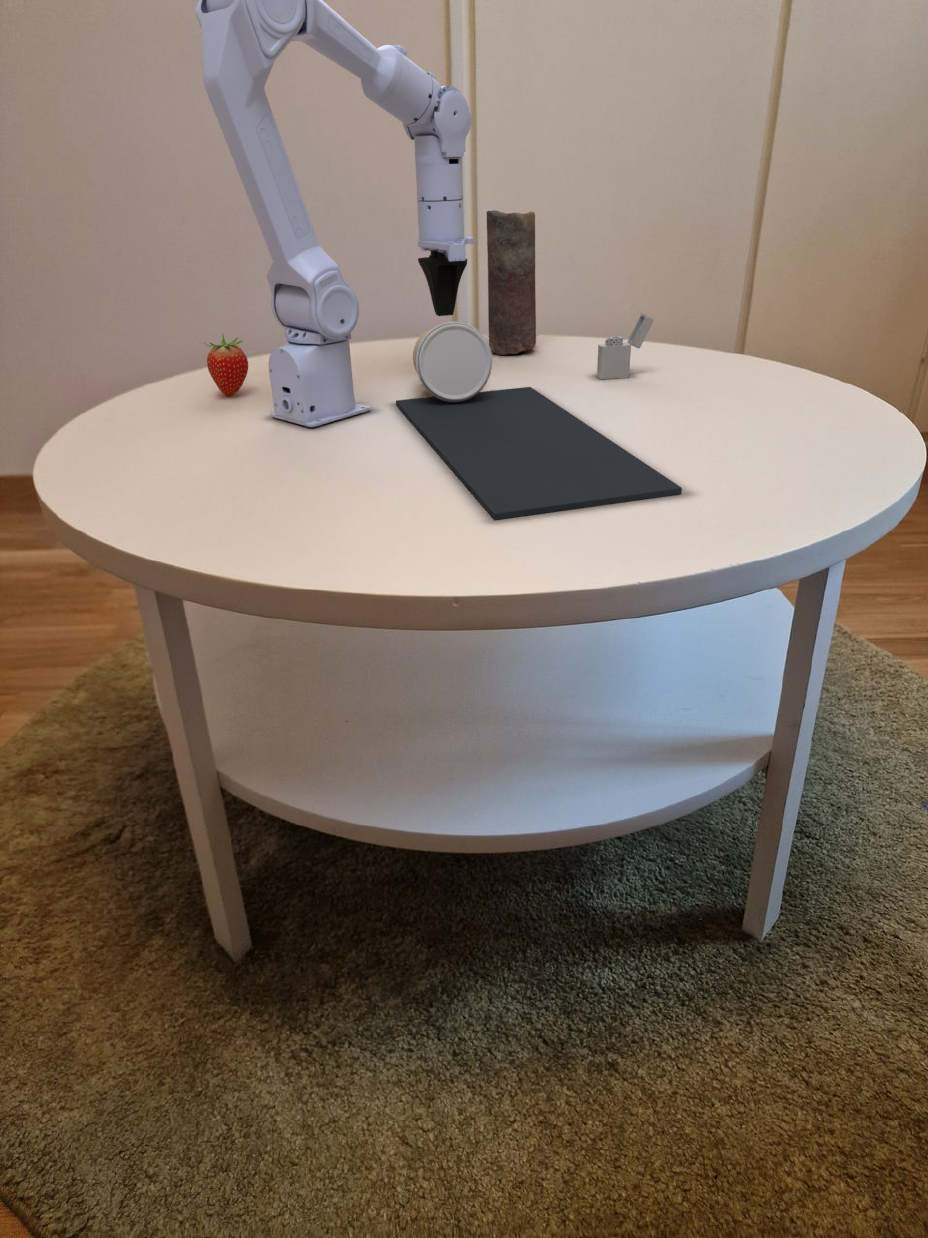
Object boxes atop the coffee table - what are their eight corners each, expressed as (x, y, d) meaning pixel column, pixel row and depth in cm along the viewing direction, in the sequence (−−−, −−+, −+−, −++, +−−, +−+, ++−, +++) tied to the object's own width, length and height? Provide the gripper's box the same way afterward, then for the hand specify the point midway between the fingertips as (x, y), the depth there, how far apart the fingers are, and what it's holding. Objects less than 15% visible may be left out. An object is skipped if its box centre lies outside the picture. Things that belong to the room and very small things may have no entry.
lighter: (600, 379, 116) (603, 317, 112) (596, 376, 117) (599, 315, 113) (650, 375, 117) (654, 314, 113) (645, 372, 118) (650, 312, 114)
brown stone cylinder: (484, 347, 136) (482, 208, 126) (529, 344, 137) (530, 206, 127) (494, 357, 130) (492, 212, 120) (540, 354, 131) (543, 209, 121)
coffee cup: (468, 398, 116) (485, 408, 105) (401, 386, 114) (410, 395, 103) (482, 327, 113) (500, 330, 102) (412, 313, 111) (423, 314, 100)
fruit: (219, 390, 116) (209, 329, 112) (256, 390, 116) (247, 329, 112) (207, 401, 111) (196, 338, 107) (246, 400, 111) (236, 337, 107)
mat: (681, 493, 78) (682, 487, 77) (494, 520, 74) (494, 513, 73) (530, 391, 111) (530, 386, 111) (395, 405, 107) (395, 400, 107)
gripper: (488, 201, 100) (490, 321, 107) (455, 196, 113) (458, 304, 119) (430, 203, 99) (435, 325, 105) (403, 198, 111) (409, 308, 118)
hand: (444, 314), depth 112 cm, fingers closed
